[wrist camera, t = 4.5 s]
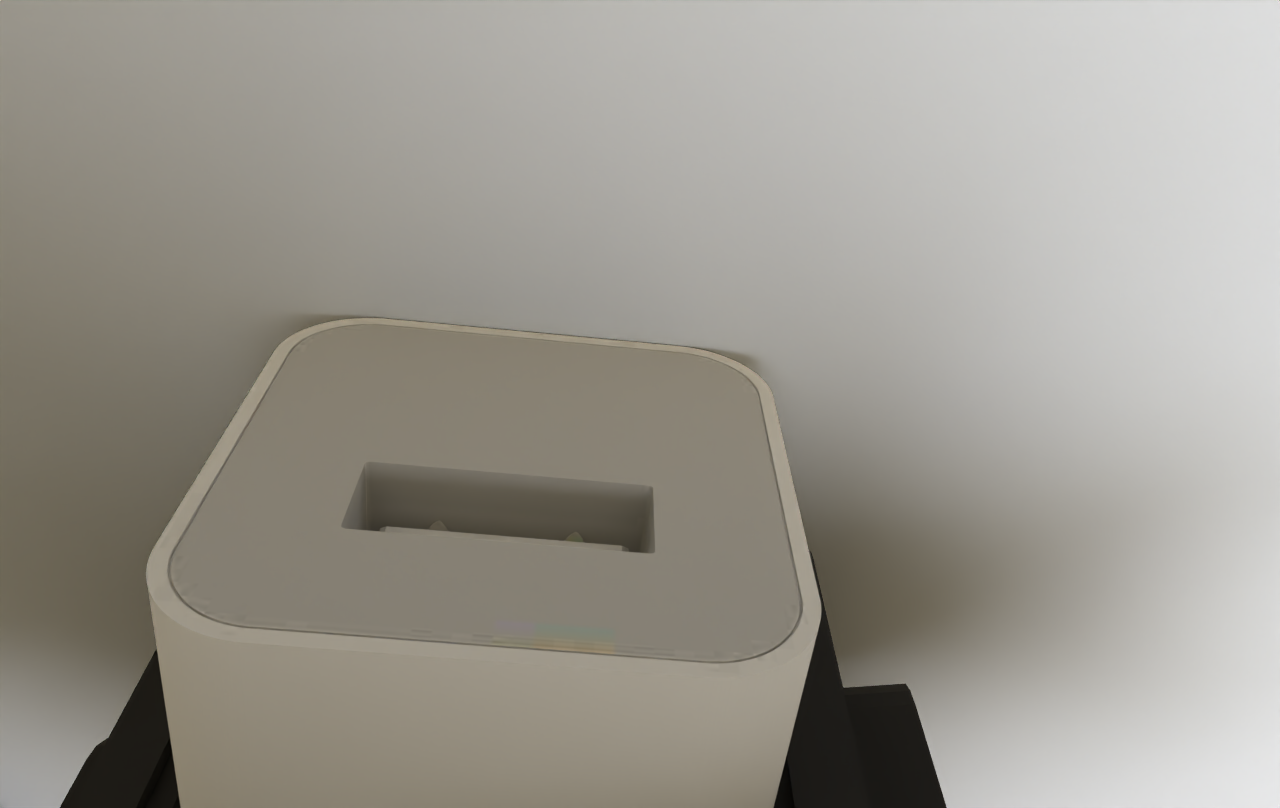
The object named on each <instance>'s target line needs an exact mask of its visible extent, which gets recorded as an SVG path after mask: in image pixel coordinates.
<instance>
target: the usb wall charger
mask: <svg viewBox="0 0 1280 808" xmlns="http://www.w3.org/2000/svg"><path fill="white" fill-rule="evenodd" d="M146 580H147V587H148V593H149V600H150V607H151V613H152V620H153V627H154V633H155V640H156V647H157V653H158V660H159V667H160V673H161V680H162V687H163V693H164V700H165V707H166V713H167V720H168V727H169V733H170V740H171V746H172V753H173V760H174V766H175V773H176V780H177V786H178V793H179V800H180V806H181V808H773V807H774V803H775V799H776V795H777V791H778V787H779V783H780V779H781V776H782V772H783V768H784V764H785V760H786V756H787V752H788V748H789V744H790V740H791V736H792V732H793V728H794V724H795V720H796V716H797V712H798V708H799V704H800V700H801V696H802V692H803V688H804V684H805V680H806V676H807V672H808V668H809V664H810V660H811V656H812V652H813V648H814V644H815V640H816V636H817V632H818V628H819V624H820V620H821V601H820V597H819V593H818V588H817V584H816V580H815V575H814V571H813V566H812V562H811V558H810V553H809V549H808V545H807V540H806V536H805V532H804V527H803V523H802V519H801V514H800V510H799V506H798V501H797V497H796V493H795V488H794V484H793V479H792V475H791V471H790V466H789V462H788V458H787V453H786V449H785V445H784V440H783V436H782V432H781V427H780V423H779V419H778V414H777V410H776V406H775V401H774V397H773V394H772V391H771V389H770V388H769V386H768V385H767V383H766V382H765V381H764V380H763V379H762V378H761V377H760V376H759V375H758V374H756V373H755V372H754V371H752V370H751V369H749V368H748V367H746V366H744V365H743V364H741V363H739V362H737V361H734V360H732V359H730V358H727V357H725V356H722V355H719V354H716V353H713V352H709V351H705V350H701V349H696V348H690V347H683V346H673V345H662V344H651V343H641V342H630V341H619V340H609V339H598V338H587V337H577V336H566V335H555V334H545V333H534V332H523V331H513V330H502V329H491V328H481V327H470V326H459V325H449V324H438V323H428V322H417V321H406V320H396V319H385V318H353V319H343V320H336V321H331V322H326V323H322V324H318V325H315V326H311V327H309V328H306V329H303V330H301V331H299V332H297V333H295V334H293V335H291V336H290V337H288V338H287V339H285V340H284V341H283V342H281V343H280V344H279V345H278V346H277V348H276V349H275V350H274V352H273V354H272V355H271V357H270V359H269V360H268V362H267V363H266V365H265V367H264V368H263V370H262V372H261V373H260V375H259V376H258V378H257V380H256V381H255V383H254V385H253V386H252V388H251V390H250V391H249V393H248V394H247V396H246V398H245V399H244V401H243V403H242V404H241V406H240V407H239V409H238V411H237V412H236V414H235V416H234V417H233V419H232V420H231V422H230V424H229V425H228V427H227V429H226V430H225V432H224V433H223V435H222V437H221V438H220V440H219V442H218V443H217V445H216V446H215V448H214V450H213V451H212V453H211V455H210V456H209V458H208V459H207V461H206V463H205V464H204V466H203V468H202V469H201V471H200V473H199V474H198V476H197V477H196V479H195V481H194V482H193V484H192V486H191V487H190V489H189V490H188V492H187V494H186V495H185V497H184V499H183V500H182V502H181V503H180V505H179V507H178V508H177V510H176V512H175V513H174V515H173V516H172V518H171V520H170V521H169V523H168V525H167V526H166V528H165V529H164V531H163V533H162V534H161V536H160V538H159V539H158V541H157V543H156V544H155V546H154V548H153V549H152V551H151V554H150V556H149V559H148V563H147V568H146Z"/></svg>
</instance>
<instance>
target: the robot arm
mask: <svg viewBox="0 0 1280 808" xmlns="http://www.w3.org/2000/svg"><path fill="white" fill-rule="evenodd" d="M809 553H810V558H811V562H812V566H813V571H814V575H815V580H816V584H817V588H818V593H819V597H820V601H821V620H820V624H819V628H818V632H817V636H816V640H815V644H814V648H813V652H812V656H811V660H810V664H809V668H808V672H807V676H806V680H805V684H804V688H803V692H802V696H801V700H800V704H799V708H798V712H797V716H796V720H795V724H794V728H793V732H792V736H791V740H790V744H789V748H788V752H787V756H786V760H785V764H784V768H783V772H782V776H781V779H780V783H779V787H778V791H777V795H776V799H775V803H774V807H773V808H947V807H946V804H945V801H944V798H943V794H942V791H941V788H940V784H939V781H938V778H937V775H936V771H935V768H934V765H933V761H932V758H931V755H930V752H929V748H928V745H927V742H926V738H925V735H924V732H923V729H922V725H921V722H920V719H919V715H918V712H917V709H916V706H915V703H914V700H913V697H912V695H911V692H910V690H909V688H908V687H907V685H906V684H894V685H879V686H864V687H850V688H843V686H842V682H841V677H840V673H839V669H838V664H837V660H836V656H835V651H834V647H833V643H832V638H831V634H830V630H829V625H828V621H827V617H826V612H825V608H824V604H823V599H822V595H821V591H820V586H819V582H818V578H817V573H816V569H815V565H814V560H813V557H812V553H811V552H810V551H809ZM60 808H181V806H180V800H179V793H178V786H177V780H176V773H175V766H174V760H173V753H172V746H171V740H170V733H169V727H168V720H167V713H166V707H165V700H164V693H163V687H162V680H161V673H160V667H159V660H158V653H157V649H156V651H155V653H154V655H153V657H152V658H151V660H150V662H149V664H148V666H147V668H146V669H145V671H144V673H143V675H142V677H141V679H140V681H139V682H138V684H137V686H136V688H135V690H134V692H133V693H132V695H131V697H130V699H129V701H128V703H127V705H126V706H125V708H124V710H123V712H122V714H121V716H120V717H119V719H118V721H117V723H116V725H115V727H114V729H113V730H112V732H111V734H110V736H109V738H107V739H106V740H104V741H103V742H101V743H100V744H98V745H97V746H96V747H95V749H94V750H93V751H92V753H91V754H90V755H89V757H88V758H87V760H86V761H85V763H84V765H83V767H82V769H81V770H80V772H79V774H78V776H77V778H76V779H75V781H74V783H73V785H72V787H71V788H70V790H69V792H68V794H67V796H66V798H65V799H64V801H63V803H62V805H61V807H60Z"/></svg>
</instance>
